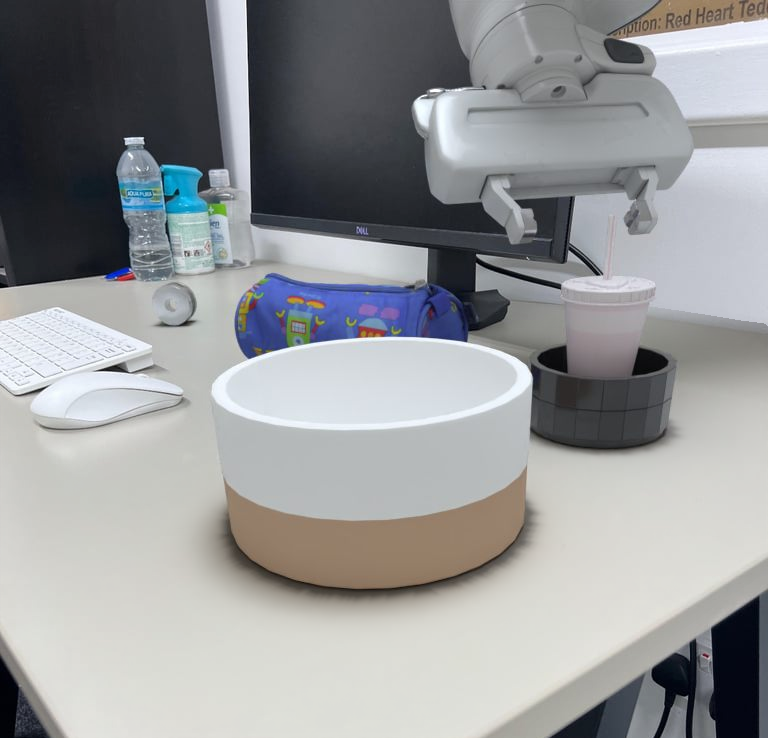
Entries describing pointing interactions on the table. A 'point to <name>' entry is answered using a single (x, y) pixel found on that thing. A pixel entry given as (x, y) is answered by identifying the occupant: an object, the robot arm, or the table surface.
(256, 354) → the pencil case
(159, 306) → the metal grooved wheel
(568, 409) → the dark grey round pot
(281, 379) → the bowl
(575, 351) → the smoothie
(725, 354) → the table surface
